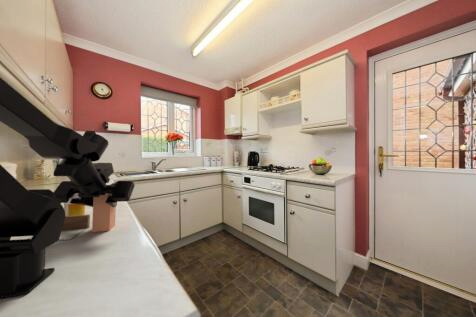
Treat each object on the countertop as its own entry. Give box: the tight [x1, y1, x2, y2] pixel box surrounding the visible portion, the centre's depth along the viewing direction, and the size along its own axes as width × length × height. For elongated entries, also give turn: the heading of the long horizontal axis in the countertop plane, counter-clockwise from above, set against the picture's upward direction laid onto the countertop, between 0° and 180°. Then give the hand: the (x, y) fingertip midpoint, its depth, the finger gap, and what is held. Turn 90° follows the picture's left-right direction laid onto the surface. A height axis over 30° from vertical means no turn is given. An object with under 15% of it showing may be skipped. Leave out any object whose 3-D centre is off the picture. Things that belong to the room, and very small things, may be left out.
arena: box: [58, 214, 91, 242], centre depth 50 cm, size 9×9×4 cm
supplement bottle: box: [63, 198, 86, 216], centre depth 62 cm, size 5×5×10 cm
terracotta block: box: [91, 193, 117, 233], centre depth 55 cm, size 4×4×13 cm
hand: (107, 206), depth 56 cm, fingers closed on terracotta block, 5 cm apart
